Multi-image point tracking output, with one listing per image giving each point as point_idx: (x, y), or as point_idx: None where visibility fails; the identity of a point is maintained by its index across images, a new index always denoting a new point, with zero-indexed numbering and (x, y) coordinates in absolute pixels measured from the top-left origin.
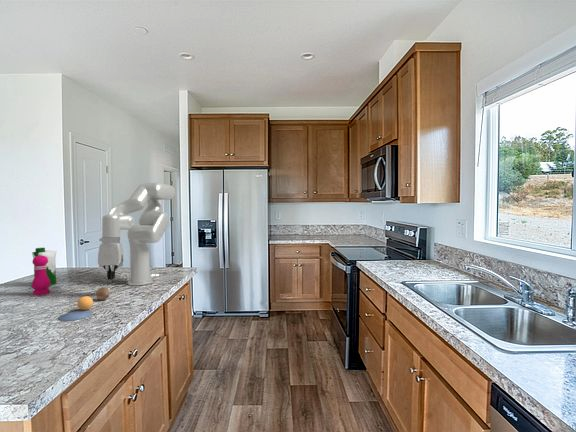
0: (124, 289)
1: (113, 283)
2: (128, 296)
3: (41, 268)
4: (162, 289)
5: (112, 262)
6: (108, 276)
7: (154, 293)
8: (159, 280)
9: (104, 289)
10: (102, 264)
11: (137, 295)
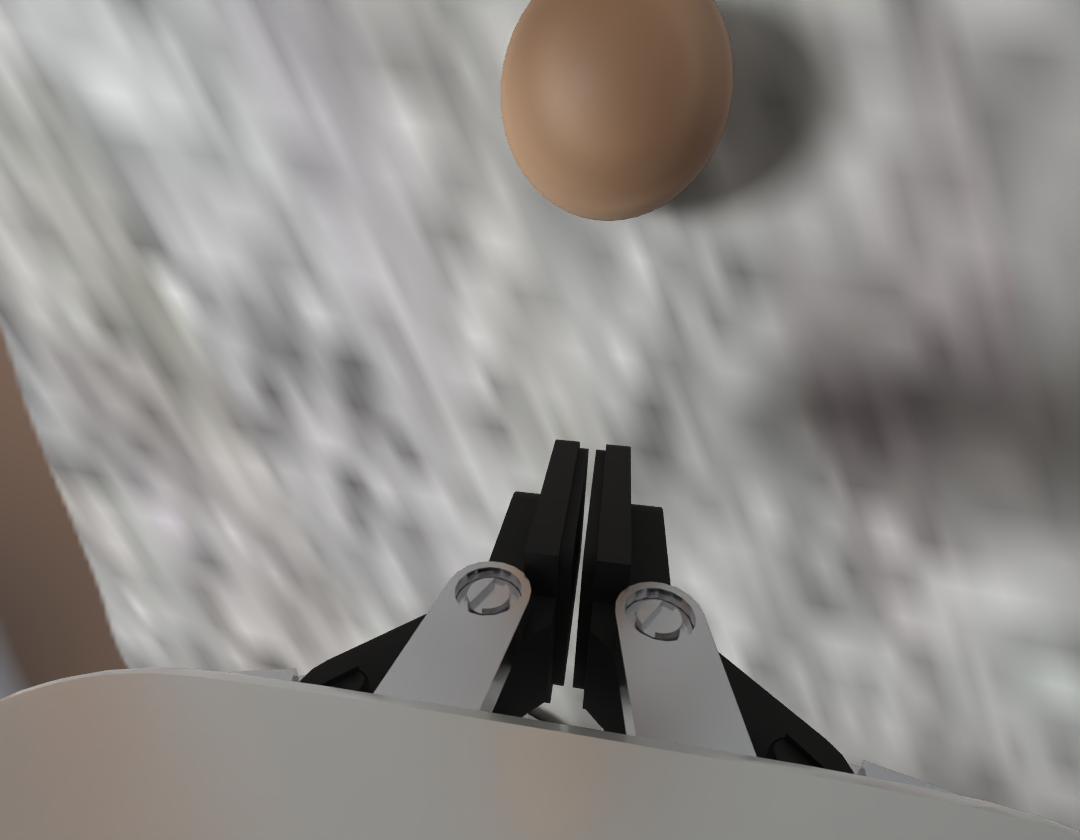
0: None
1: None
2: (332, 261)
3: None
4: (117, 506)
5: (228, 818)
6: (612, 479)
7: (101, 358)
8: None
9: (549, 16)
10: (915, 794)
11: (245, 295)
